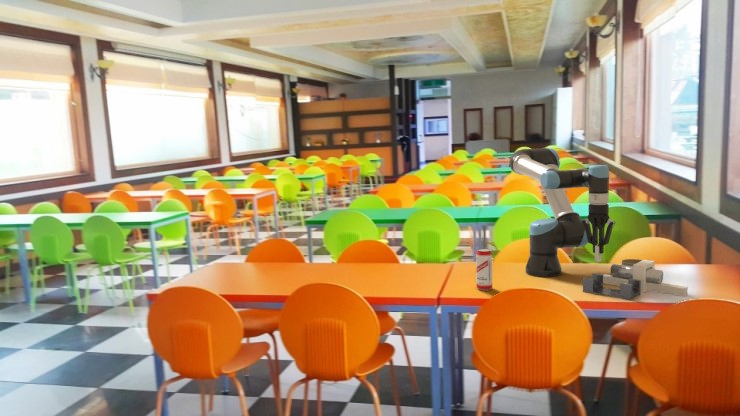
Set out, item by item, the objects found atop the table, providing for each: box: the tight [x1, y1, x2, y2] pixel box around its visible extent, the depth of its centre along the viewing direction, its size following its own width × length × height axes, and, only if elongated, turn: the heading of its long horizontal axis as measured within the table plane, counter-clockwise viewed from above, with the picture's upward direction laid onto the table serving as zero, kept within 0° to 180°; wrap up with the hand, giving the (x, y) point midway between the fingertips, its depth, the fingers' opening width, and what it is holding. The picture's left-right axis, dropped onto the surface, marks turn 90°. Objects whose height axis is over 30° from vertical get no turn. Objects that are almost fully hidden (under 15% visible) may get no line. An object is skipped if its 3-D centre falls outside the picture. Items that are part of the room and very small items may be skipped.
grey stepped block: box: [603, 259, 689, 297], centre depth 216 cm, size 31×11×10 cm, turn 44°
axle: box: [609, 263, 664, 283], centre depth 218 cm, size 18×5×5 cm, turn 44°
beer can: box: [475, 248, 493, 291], centre depth 224 cm, size 6×6×16 cm
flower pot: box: [621, 258, 643, 266], centre depth 231 cm, size 10×10×7 cm
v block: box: [582, 272, 641, 301], centre depth 212 cm, size 18×9×6 cm, turn 44°
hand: (598, 261), depth 228 cm, fingers closed
